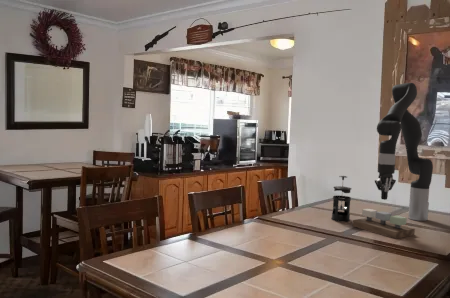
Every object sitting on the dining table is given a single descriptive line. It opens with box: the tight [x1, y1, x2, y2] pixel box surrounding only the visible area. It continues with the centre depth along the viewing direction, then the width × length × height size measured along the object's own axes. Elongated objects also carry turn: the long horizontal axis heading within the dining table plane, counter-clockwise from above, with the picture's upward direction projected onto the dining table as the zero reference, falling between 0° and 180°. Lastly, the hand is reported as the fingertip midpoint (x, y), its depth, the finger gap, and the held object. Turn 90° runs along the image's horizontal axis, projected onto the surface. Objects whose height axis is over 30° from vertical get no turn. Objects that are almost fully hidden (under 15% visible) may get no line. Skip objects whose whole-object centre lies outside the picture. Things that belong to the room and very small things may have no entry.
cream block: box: [361, 208, 378, 221], centre depth 207 cm, size 5×5×6 cm
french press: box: [330, 175, 352, 223], centre depth 219 cm, size 12×9×23 cm
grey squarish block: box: [375, 211, 393, 225], centre depth 200 cm, size 5×5×6 cm
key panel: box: [352, 217, 416, 239], centre depth 200 cm, size 14×24×3 cm, turn 32°
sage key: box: [389, 215, 408, 229], centre depth 193 cm, size 5×5×6 cm
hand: (384, 199), depth 199 cm, fingers closed
